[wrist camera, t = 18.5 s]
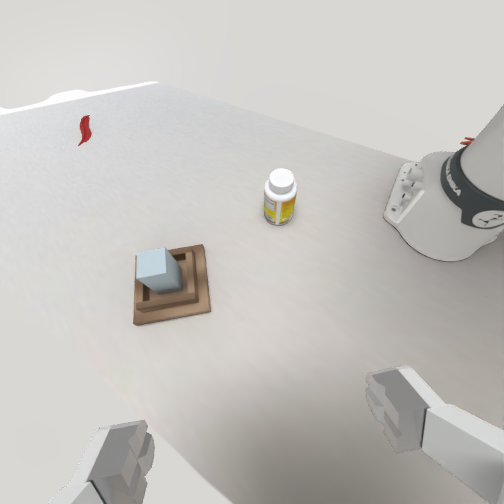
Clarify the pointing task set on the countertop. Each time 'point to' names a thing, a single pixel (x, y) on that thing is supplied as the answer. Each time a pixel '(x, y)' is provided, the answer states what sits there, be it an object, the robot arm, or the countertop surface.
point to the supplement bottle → (279, 196)
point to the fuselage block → (159, 271)
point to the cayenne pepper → (85, 129)
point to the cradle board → (180, 302)
